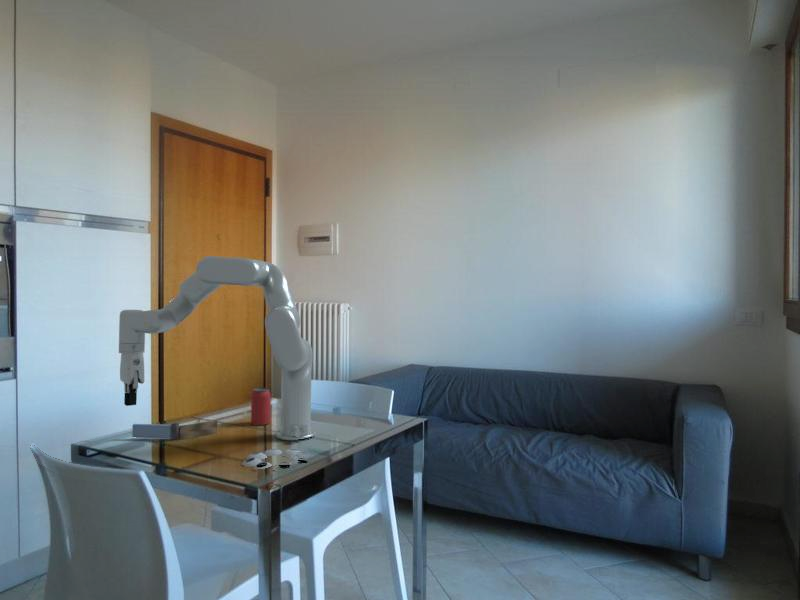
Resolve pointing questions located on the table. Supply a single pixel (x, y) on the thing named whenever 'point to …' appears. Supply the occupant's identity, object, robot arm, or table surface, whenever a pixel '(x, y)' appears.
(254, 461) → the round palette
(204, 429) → the hinge frame
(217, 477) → the table surface
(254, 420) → the beer can
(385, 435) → the table surface
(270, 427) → the table surface
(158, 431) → the hinged leaf
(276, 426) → the table surface
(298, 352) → the robot arm
